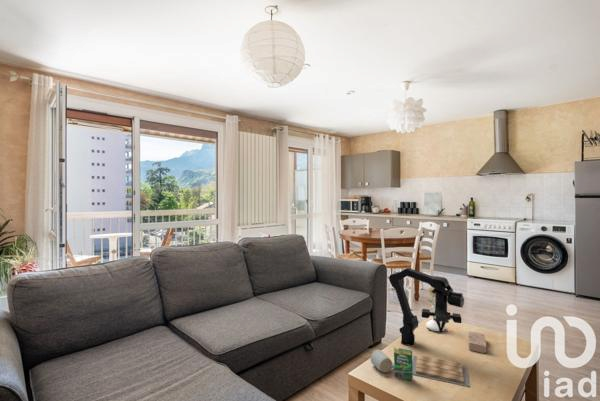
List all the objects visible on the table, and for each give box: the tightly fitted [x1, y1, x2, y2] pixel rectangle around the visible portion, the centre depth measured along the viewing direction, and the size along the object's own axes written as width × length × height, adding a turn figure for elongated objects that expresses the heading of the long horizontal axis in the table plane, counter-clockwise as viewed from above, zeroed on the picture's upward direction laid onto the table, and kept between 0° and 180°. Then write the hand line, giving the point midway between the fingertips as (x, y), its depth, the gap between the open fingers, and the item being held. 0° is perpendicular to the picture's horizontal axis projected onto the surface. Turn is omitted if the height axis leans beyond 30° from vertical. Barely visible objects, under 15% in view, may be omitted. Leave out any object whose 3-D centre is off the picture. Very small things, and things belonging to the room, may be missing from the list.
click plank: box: [416, 354, 463, 372], centre depth 151 cm, size 20×7×1 cm, turn 66°
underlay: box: [412, 355, 470, 387], centre depth 148 cm, size 24×17×1 cm
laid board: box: [416, 363, 464, 384], centre depth 144 cm, size 20×7×1 cm, turn 66°
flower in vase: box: [425, 286, 447, 332], centre depth 192 cm, size 13×11×25 cm
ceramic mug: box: [370, 349, 394, 373], centre depth 150 cm, size 11×8×8 cm
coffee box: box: [393, 346, 414, 382], centre depth 142 cm, size 8×3×13 cm, turn 61°
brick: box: [467, 331, 487, 354], centre depth 171 cm, size 17×8×5 cm, turn 152°
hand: (440, 331), depth 162 cm, fingers closed
